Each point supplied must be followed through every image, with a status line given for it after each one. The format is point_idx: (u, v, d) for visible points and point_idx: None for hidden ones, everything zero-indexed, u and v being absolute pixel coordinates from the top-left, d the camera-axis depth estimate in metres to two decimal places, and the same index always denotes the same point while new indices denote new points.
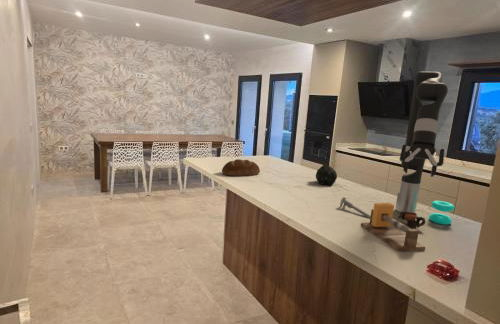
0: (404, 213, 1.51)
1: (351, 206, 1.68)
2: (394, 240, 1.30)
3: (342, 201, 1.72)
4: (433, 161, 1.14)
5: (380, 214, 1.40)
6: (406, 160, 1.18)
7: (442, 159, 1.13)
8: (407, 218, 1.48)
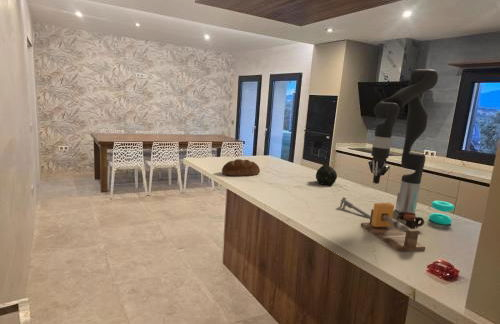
0: (403, 213, 1.50)
1: (351, 206, 1.68)
2: (394, 240, 1.30)
3: (342, 201, 1.72)
4: (376, 172, 1.45)
5: (380, 214, 1.40)
6: (373, 173, 1.47)
7: (380, 172, 1.43)
8: (406, 218, 1.48)
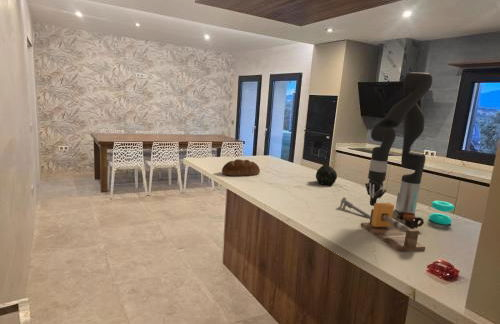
0: (402, 213, 1.50)
1: (351, 206, 1.68)
2: (394, 240, 1.30)
3: (342, 201, 1.72)
4: (373, 194, 1.47)
5: (380, 214, 1.40)
6: (370, 195, 1.49)
7: (376, 195, 1.44)
8: (405, 218, 1.48)
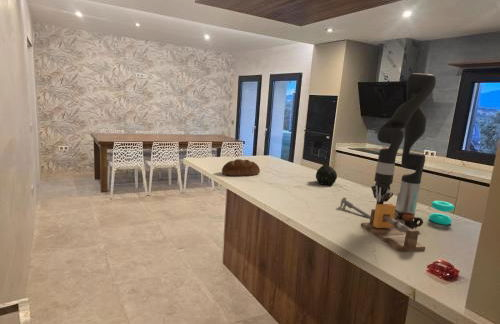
0: (402, 214, 1.50)
1: (351, 206, 1.67)
2: (394, 240, 1.30)
3: (342, 201, 1.72)
4: (379, 198, 1.42)
5: (382, 215, 1.39)
6: (376, 199, 1.44)
7: (383, 199, 1.40)
8: (405, 219, 1.47)
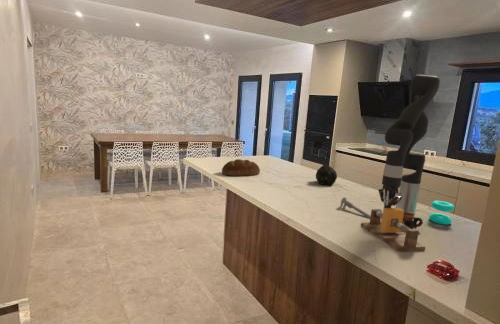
0: None
1: (351, 206, 1.67)
2: (394, 240, 1.30)
3: (342, 201, 1.72)
4: (387, 201, 1.37)
5: (390, 219, 1.34)
6: (384, 202, 1.39)
7: (391, 202, 1.35)
8: (404, 219, 1.47)
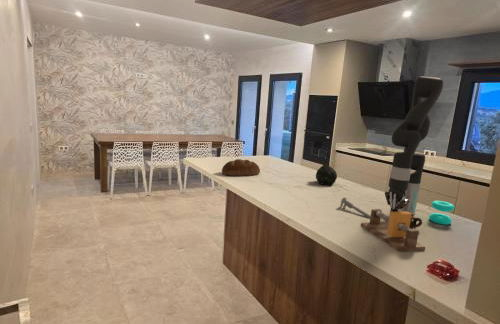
0: None
1: (351, 206, 1.67)
2: (394, 240, 1.30)
3: (342, 201, 1.72)
4: (394, 205, 1.33)
5: (397, 223, 1.30)
6: (390, 206, 1.35)
7: (398, 206, 1.30)
8: None
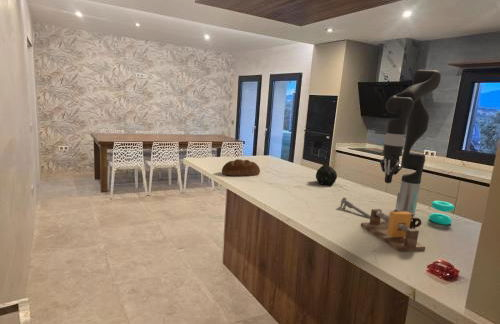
0: None
1: (351, 206, 1.67)
2: (394, 240, 1.30)
3: (342, 201, 1.72)
4: (388, 171, 1.37)
5: (397, 223, 1.30)
6: (385, 172, 1.39)
7: (392, 171, 1.34)
8: None
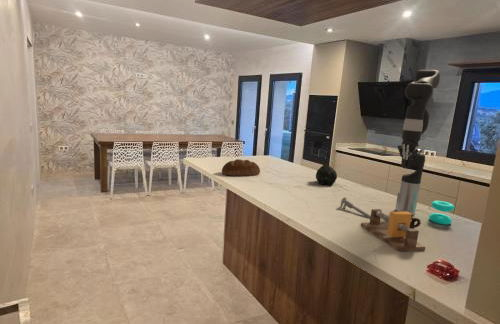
0: None
1: (351, 206, 1.67)
2: (394, 240, 1.30)
3: (342, 201, 1.72)
4: (407, 156, 1.40)
5: (397, 223, 1.30)
6: (403, 157, 1.42)
7: (411, 156, 1.38)
8: None
